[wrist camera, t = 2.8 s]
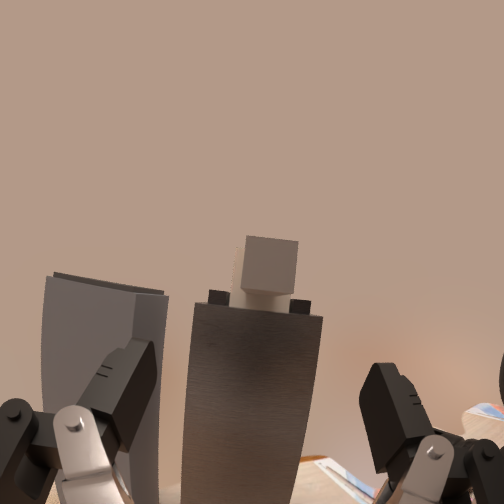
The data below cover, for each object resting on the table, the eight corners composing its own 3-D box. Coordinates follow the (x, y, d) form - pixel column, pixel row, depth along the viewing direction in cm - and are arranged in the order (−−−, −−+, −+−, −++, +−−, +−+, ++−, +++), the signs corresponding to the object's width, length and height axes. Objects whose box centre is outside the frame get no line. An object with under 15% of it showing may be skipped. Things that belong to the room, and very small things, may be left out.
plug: (280, 310, 31) (285, 264, 32) (316, 322, 14) (325, 219, 14) (234, 305, 32) (239, 258, 32) (210, 310, 14) (224, 208, 15)
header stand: (265, 526, 27) (303, 301, 33) (268, 572, 17) (324, 301, 23) (193, 518, 27) (213, 291, 33) (181, 562, 18) (196, 287, 23)
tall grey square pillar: (159, 511, 28) (169, 291, 33) (139, 552, 18) (137, 287, 23) (96, 490, 28) (95, 279, 33) (66, 523, 18) (47, 270, 23)
